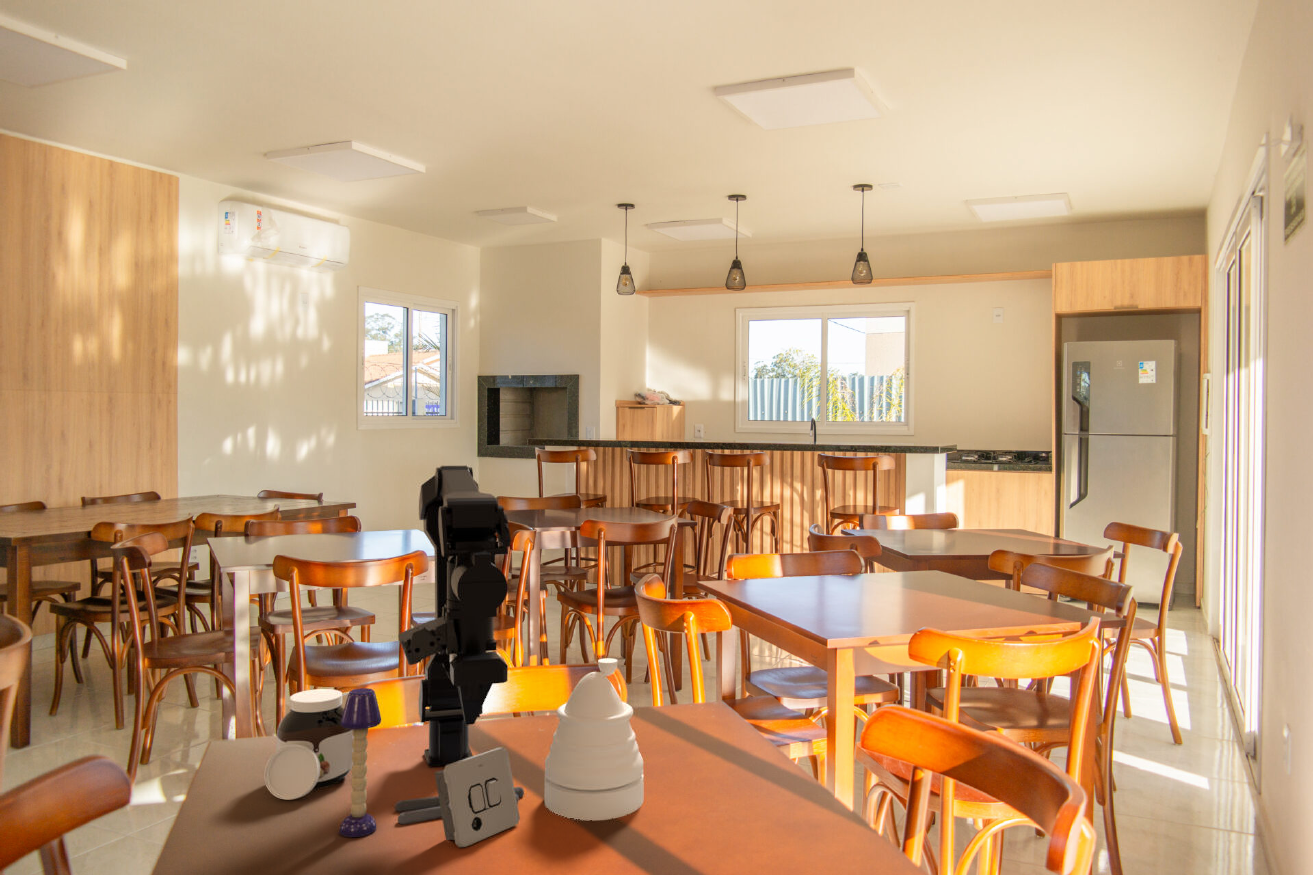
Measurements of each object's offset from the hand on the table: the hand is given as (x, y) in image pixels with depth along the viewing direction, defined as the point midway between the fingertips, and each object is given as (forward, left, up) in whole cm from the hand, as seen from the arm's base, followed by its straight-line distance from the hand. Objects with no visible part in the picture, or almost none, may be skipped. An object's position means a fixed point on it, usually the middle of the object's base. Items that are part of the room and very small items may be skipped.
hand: (469, 723), depth 116 cm
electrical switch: (+4, 0, -12) cm, 13 cm away
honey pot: (-1, +16, -12) cm, 20 cm away
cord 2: (-2, -1, -12) cm, 12 cm away
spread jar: (-18, -19, -12) cm, 29 cm away
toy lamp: (-1, -13, -12) cm, 18 cm away
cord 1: (-5, 0, -12) cm, 13 cm away
